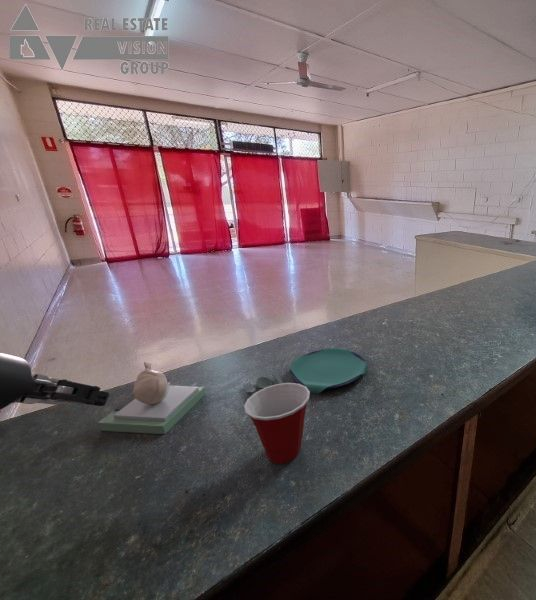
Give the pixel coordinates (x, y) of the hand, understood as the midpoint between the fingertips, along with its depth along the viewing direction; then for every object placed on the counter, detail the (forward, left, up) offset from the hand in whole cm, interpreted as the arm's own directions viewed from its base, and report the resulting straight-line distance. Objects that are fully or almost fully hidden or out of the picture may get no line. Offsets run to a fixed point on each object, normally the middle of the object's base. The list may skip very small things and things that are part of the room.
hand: (80, 398), depth 53 cm
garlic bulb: (+1, +12, -9) cm, 15 cm away
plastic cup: (+32, +3, -12) cm, 35 cm away
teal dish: (+30, +27, -12) cm, 42 cm away
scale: (+1, +12, -12) cm, 17 cm away
